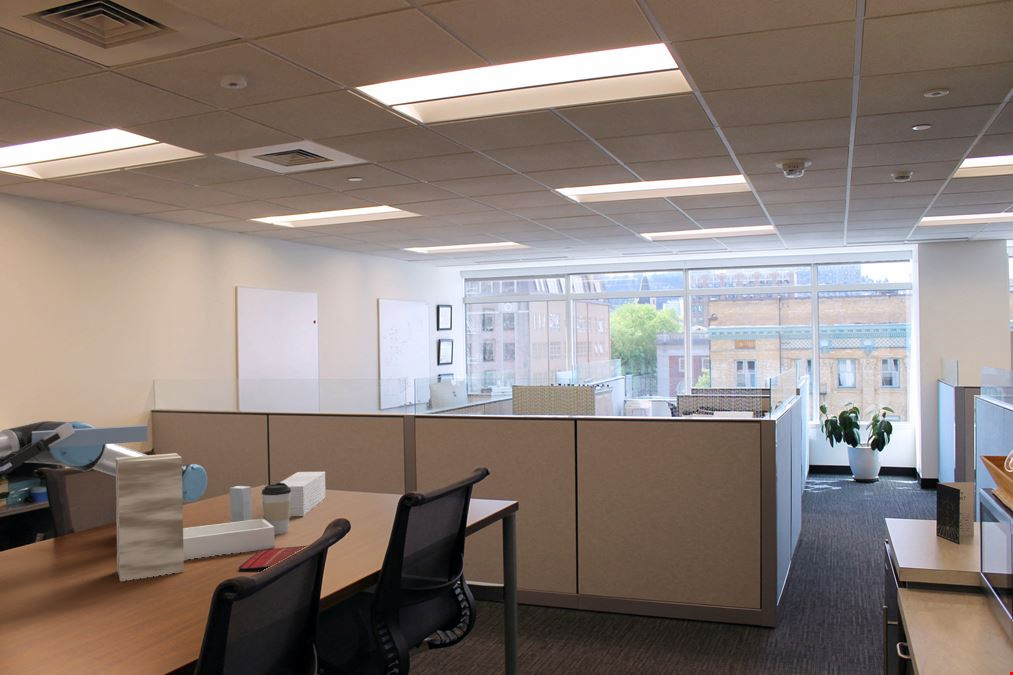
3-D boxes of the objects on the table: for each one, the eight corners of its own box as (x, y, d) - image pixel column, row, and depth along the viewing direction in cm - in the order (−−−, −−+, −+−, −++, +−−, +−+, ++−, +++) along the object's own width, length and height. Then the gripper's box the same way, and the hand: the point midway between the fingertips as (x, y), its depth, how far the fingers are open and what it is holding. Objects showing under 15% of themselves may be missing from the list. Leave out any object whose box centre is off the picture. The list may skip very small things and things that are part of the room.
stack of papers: (297, 500, 308) (297, 472, 309) (325, 499, 308) (325, 471, 308) (273, 518, 276) (272, 486, 277) (303, 517, 276) (303, 486, 276)
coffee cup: (283, 535, 249) (282, 487, 249) (256, 534, 251) (255, 486, 251) (296, 529, 258) (296, 482, 258) (270, 528, 259) (270, 481, 260)
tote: (146, 553, 230) (146, 532, 230) (263, 538, 246) (263, 518, 246) (151, 565, 218) (151, 542, 218) (274, 547, 234) (274, 527, 234)
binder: (317, 543, 230) (296, 564, 209) (317, 551, 230) (297, 573, 209) (261, 547, 230) (235, 567, 209) (262, 555, 230) (236, 576, 209)
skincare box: (253, 522, 269) (252, 486, 269) (243, 525, 265) (242, 488, 265) (239, 521, 272) (239, 485, 272) (229, 523, 268) (229, 487, 268)
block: (32, 447, 200) (32, 431, 200) (146, 439, 213) (145, 424, 213) (32, 449, 197) (31, 432, 197) (147, 441, 210) (147, 425, 210)
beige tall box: (117, 571, 212) (115, 457, 213) (178, 562, 220) (176, 453, 220) (120, 581, 203) (118, 462, 203) (183, 572, 210) (181, 457, 210)
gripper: (-12, 488, 201) (79, 436, 211) (-17, 499, 186) (81, 442, 196) (-30, 464, 199) (62, 412, 209) (-37, 472, 184) (63, 416, 194)
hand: (71, 427), depth 203 cm, fingers closed on block, 4 cm apart
